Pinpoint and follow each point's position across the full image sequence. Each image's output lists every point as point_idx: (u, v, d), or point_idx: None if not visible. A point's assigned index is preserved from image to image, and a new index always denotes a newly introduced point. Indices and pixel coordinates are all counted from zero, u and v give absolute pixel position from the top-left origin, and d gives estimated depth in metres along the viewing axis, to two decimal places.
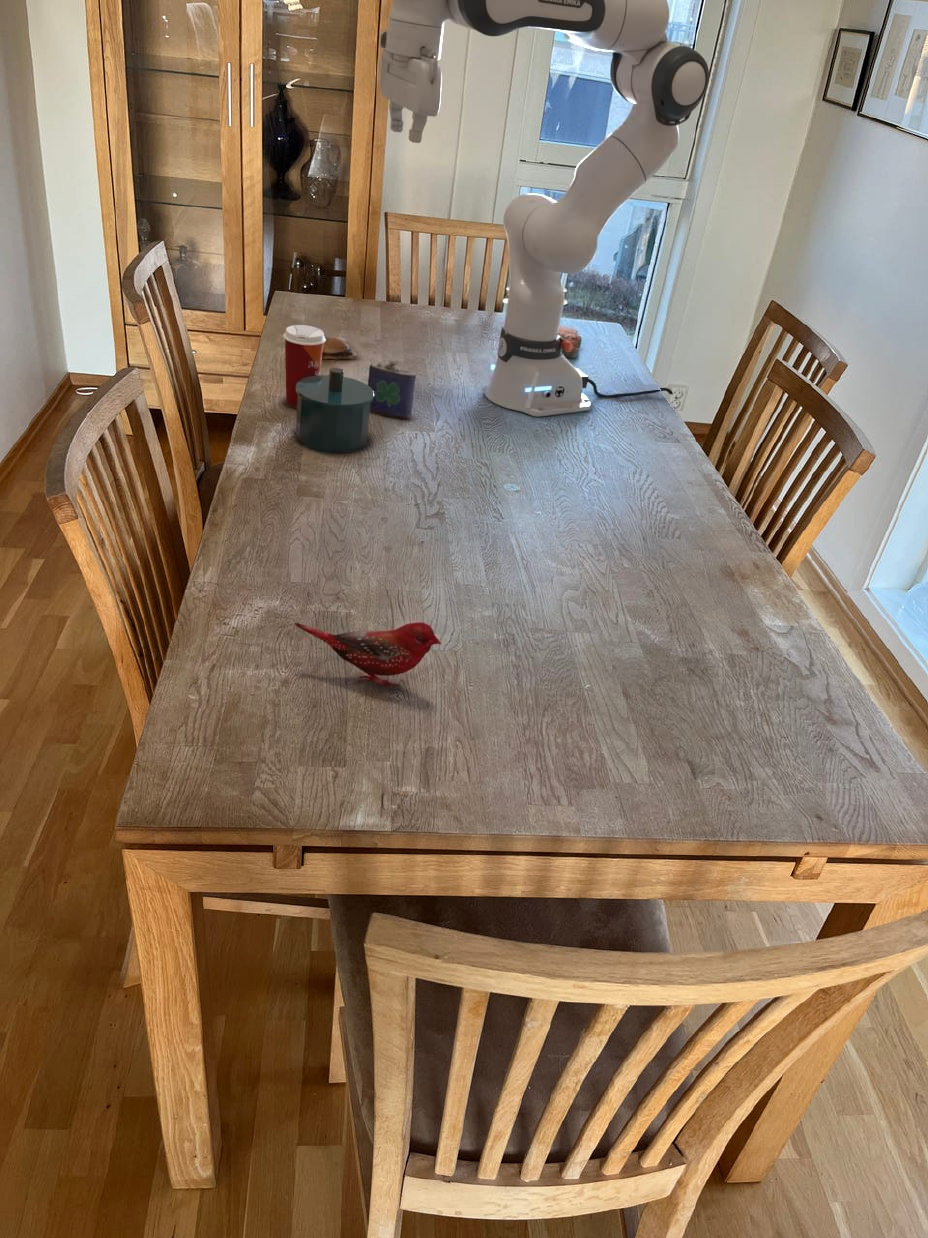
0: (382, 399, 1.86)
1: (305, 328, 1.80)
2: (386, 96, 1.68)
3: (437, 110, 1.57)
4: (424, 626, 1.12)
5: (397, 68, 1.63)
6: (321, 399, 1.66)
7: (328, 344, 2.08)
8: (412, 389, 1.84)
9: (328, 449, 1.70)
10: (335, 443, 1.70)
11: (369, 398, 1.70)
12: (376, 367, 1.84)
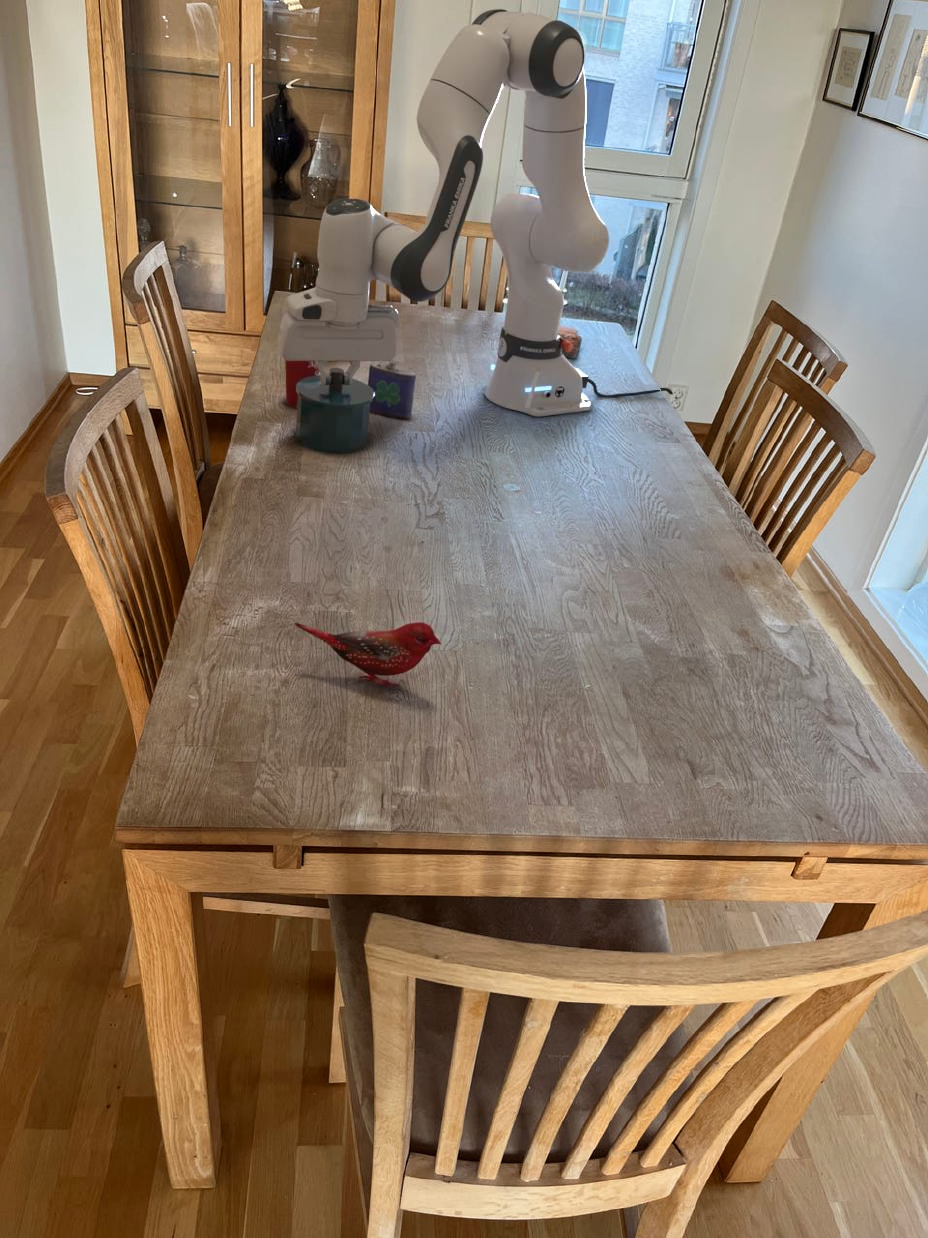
0: (382, 399, 1.86)
1: None
2: (303, 359, 1.64)
3: None
4: (424, 626, 1.12)
5: (325, 331, 1.63)
6: (321, 399, 1.66)
7: None
8: (412, 389, 1.84)
9: (328, 449, 1.70)
10: (335, 443, 1.70)
11: (369, 398, 1.70)
12: (376, 367, 1.84)
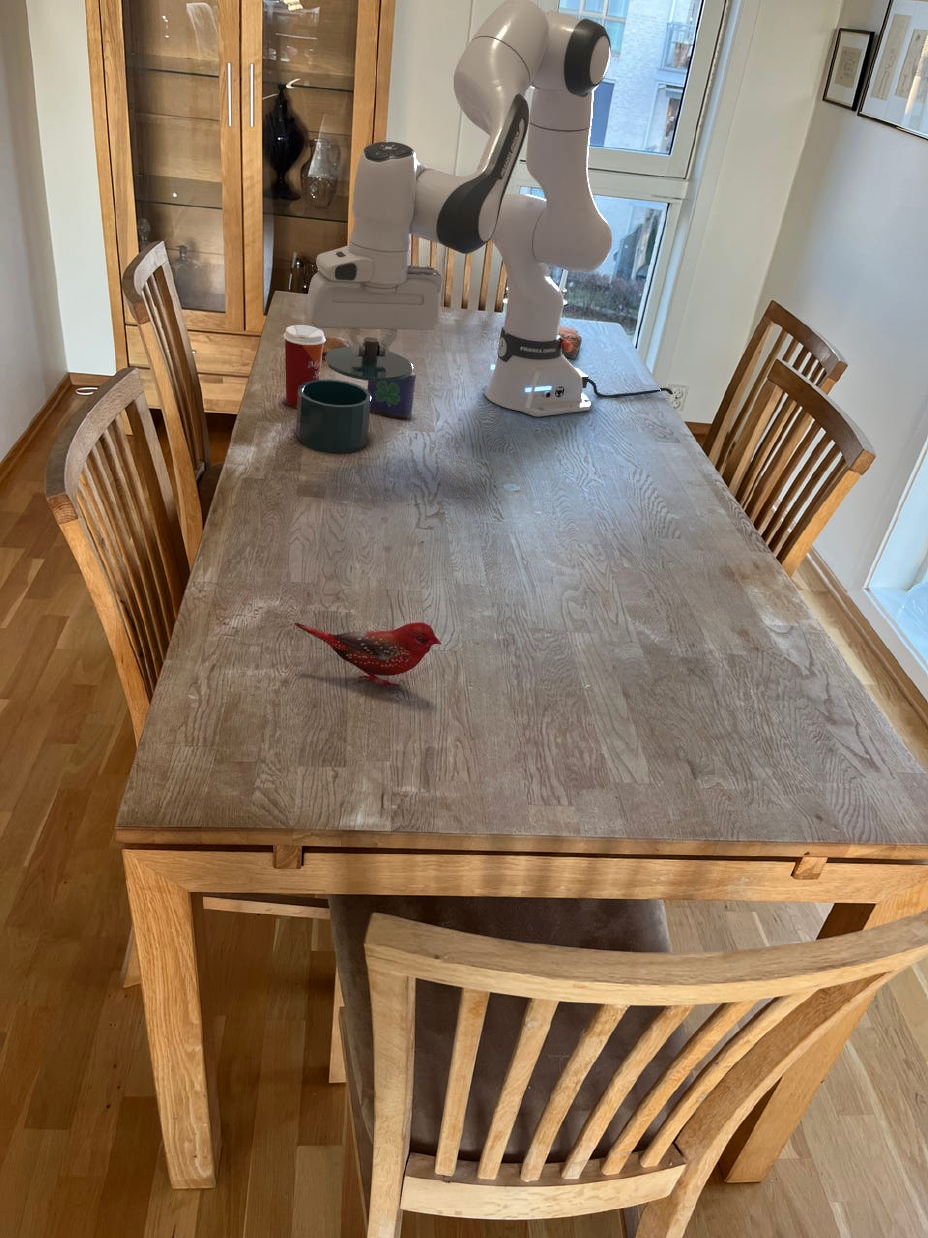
0: (382, 399, 1.86)
1: (305, 328, 1.80)
2: (335, 326, 1.46)
3: None
4: (424, 626, 1.12)
5: (360, 295, 1.45)
6: (354, 371, 1.48)
7: (328, 344, 2.08)
8: (412, 389, 1.84)
9: (328, 449, 1.70)
10: (335, 443, 1.70)
11: (407, 371, 1.51)
12: None
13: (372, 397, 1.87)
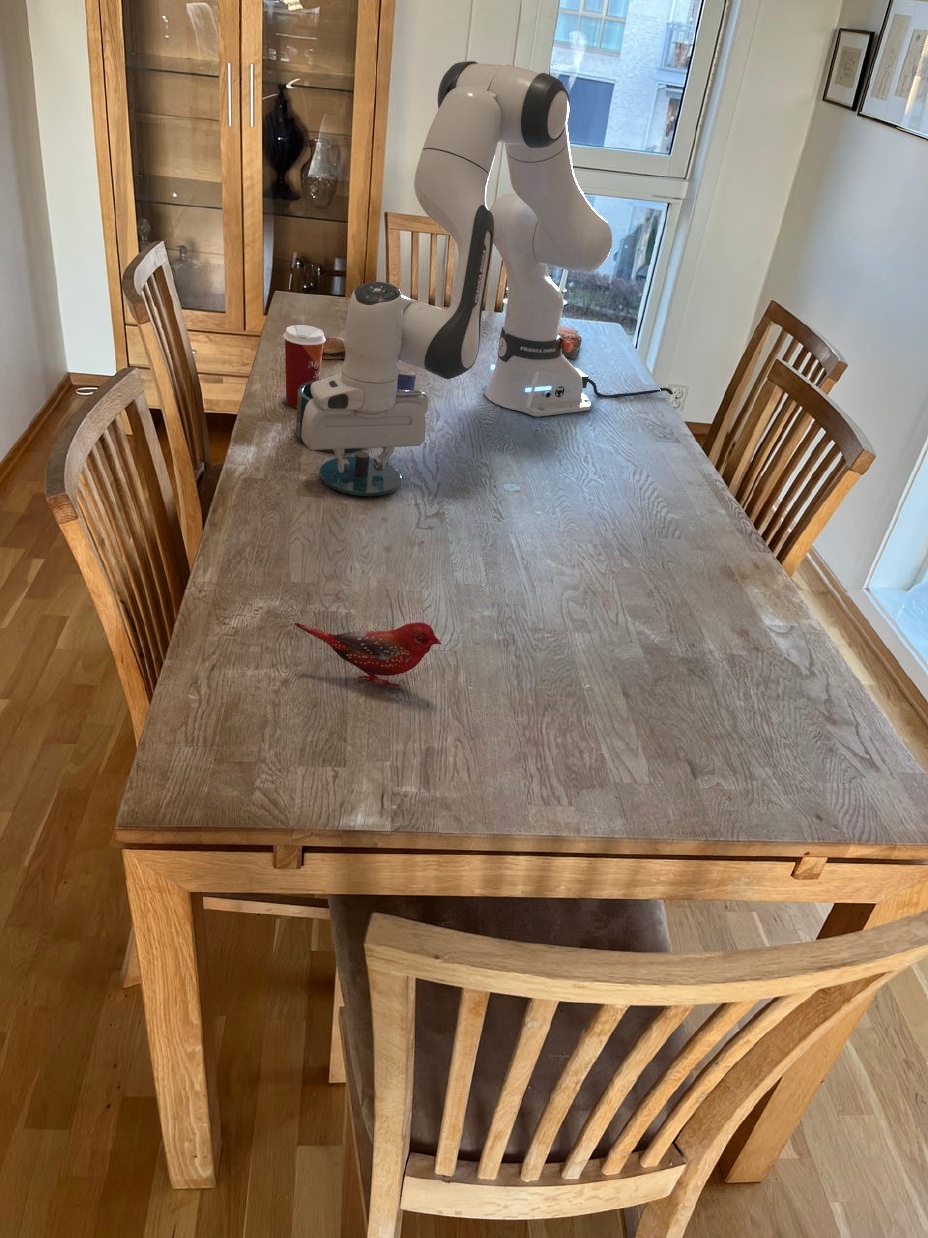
0: None
1: (305, 328, 1.80)
2: (328, 448, 1.56)
3: None
4: (424, 626, 1.12)
5: (351, 419, 1.55)
6: (347, 487, 1.58)
7: (328, 344, 2.08)
8: (412, 389, 1.84)
9: (328, 449, 1.70)
10: None
11: (396, 484, 1.61)
12: None
13: None
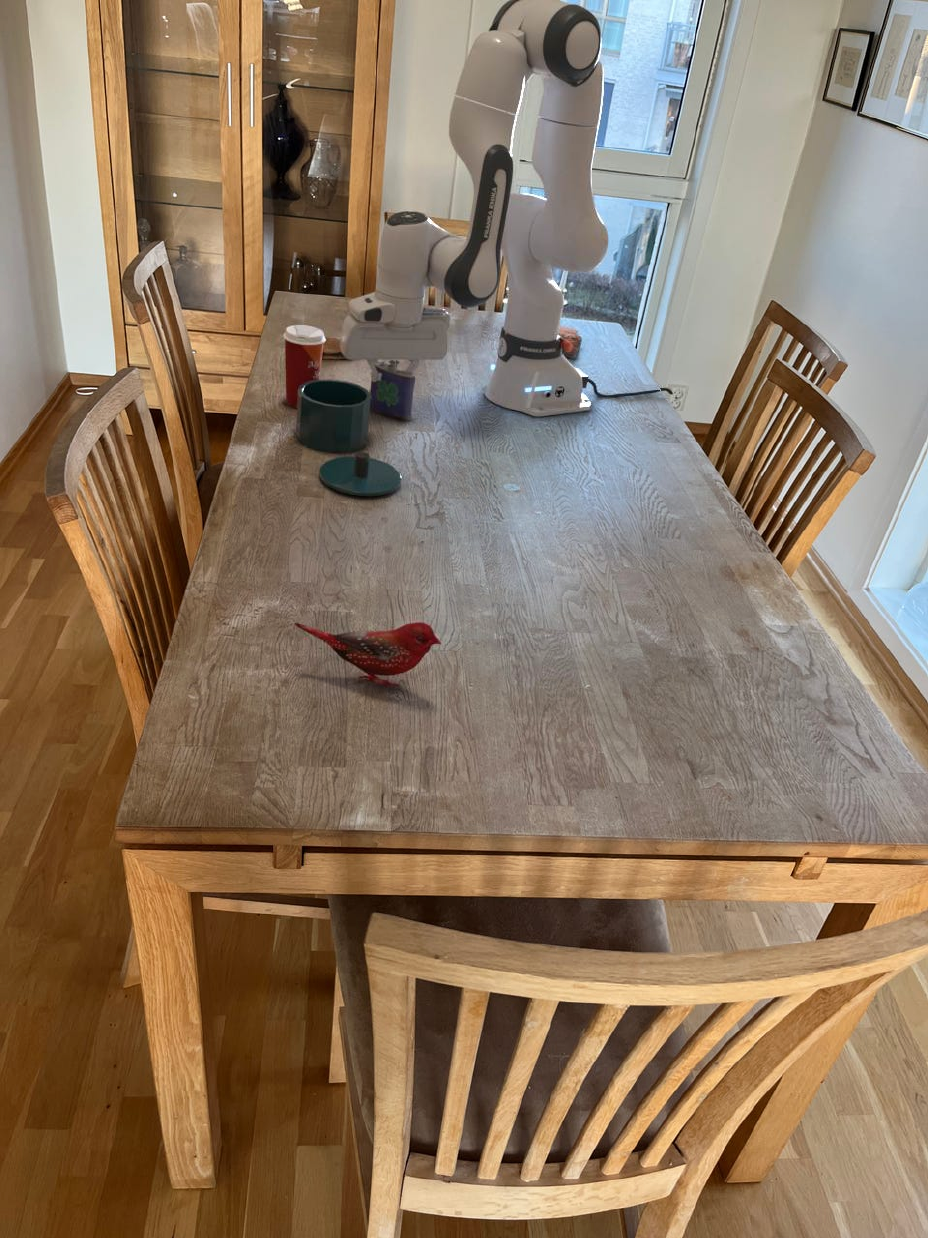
0: (382, 399, 1.86)
1: (305, 328, 1.80)
2: (363, 358, 1.78)
3: None
4: (424, 626, 1.12)
5: (384, 332, 1.77)
6: (347, 487, 1.58)
7: (328, 344, 2.08)
8: (410, 391, 1.84)
9: (328, 449, 1.70)
10: (335, 443, 1.70)
11: (396, 484, 1.61)
12: (377, 366, 1.84)
13: (374, 396, 1.87)
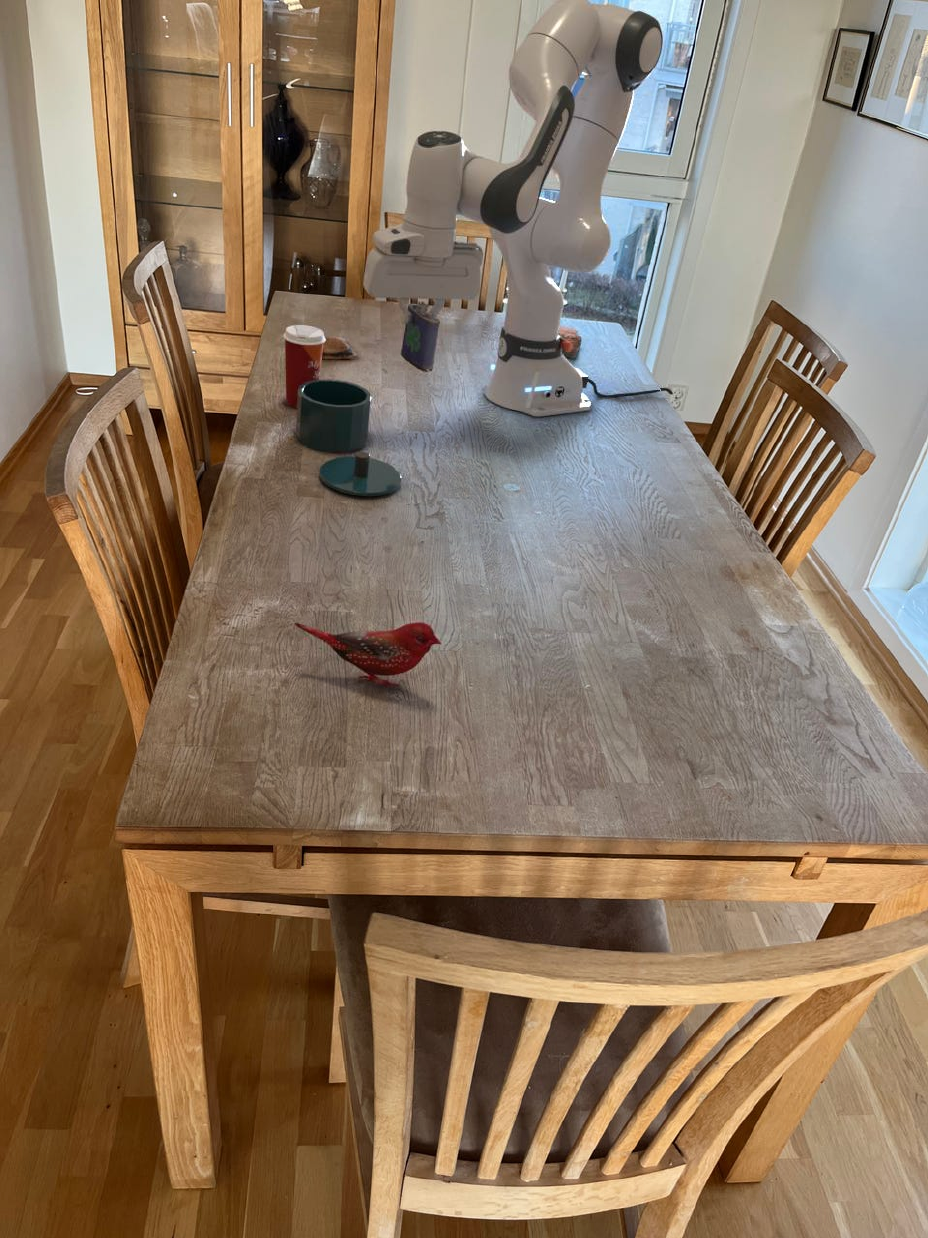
0: (408, 343, 1.71)
1: (305, 328, 1.80)
2: (389, 296, 1.63)
3: None
4: (424, 626, 1.12)
5: (412, 267, 1.62)
6: (347, 487, 1.58)
7: (328, 344, 2.08)
8: (431, 338, 1.66)
9: (328, 449, 1.70)
10: (335, 443, 1.70)
11: (396, 484, 1.61)
12: (410, 307, 1.69)
13: (404, 339, 1.73)
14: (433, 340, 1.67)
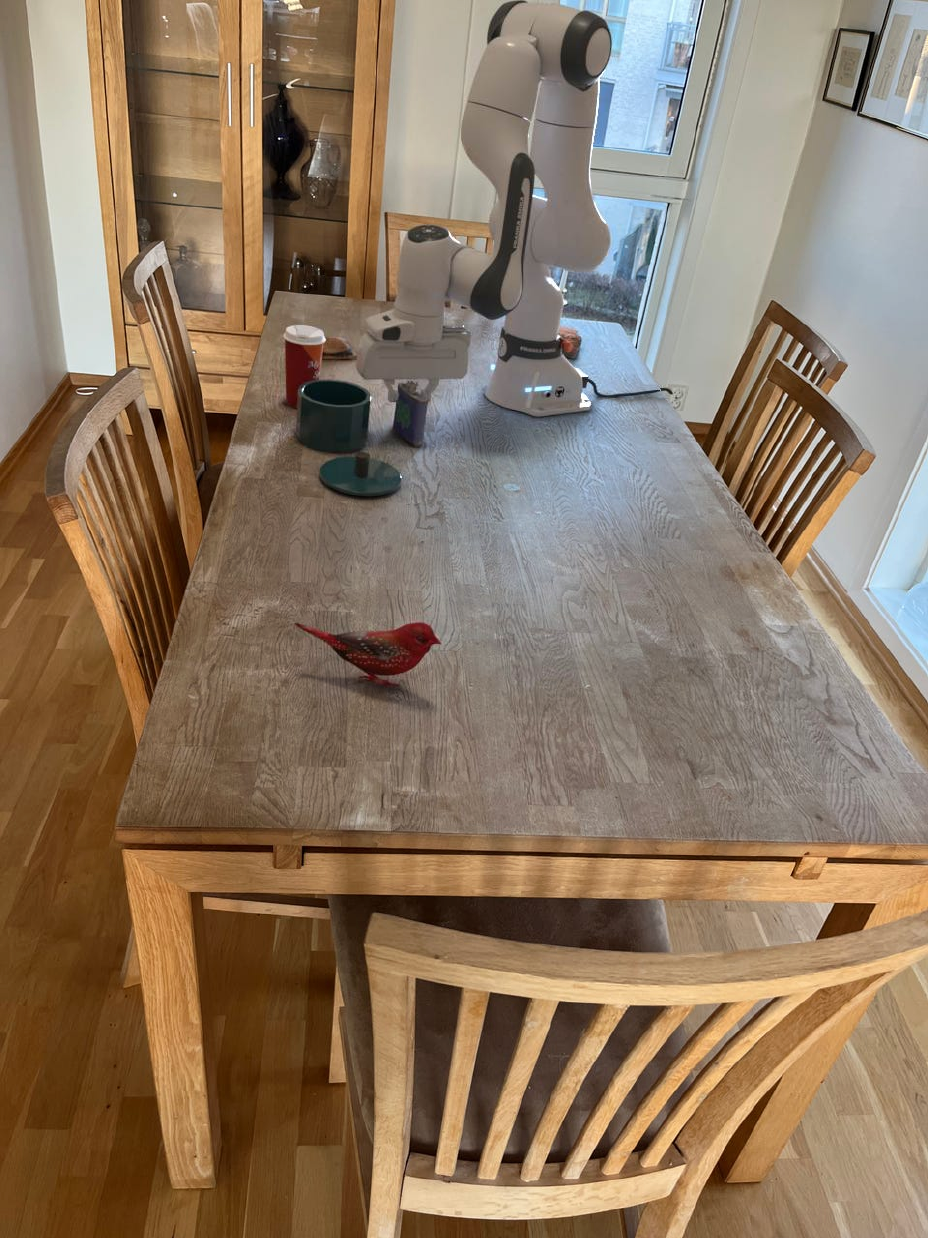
0: (399, 420, 1.79)
1: (305, 328, 1.80)
2: (381, 378, 1.71)
3: None
4: (424, 626, 1.12)
5: (402, 351, 1.70)
6: (347, 487, 1.58)
7: (328, 344, 2.08)
8: (420, 416, 1.74)
9: (328, 449, 1.70)
10: (335, 443, 1.70)
11: (396, 484, 1.61)
12: (400, 386, 1.77)
13: (395, 416, 1.81)
14: (422, 417, 1.75)
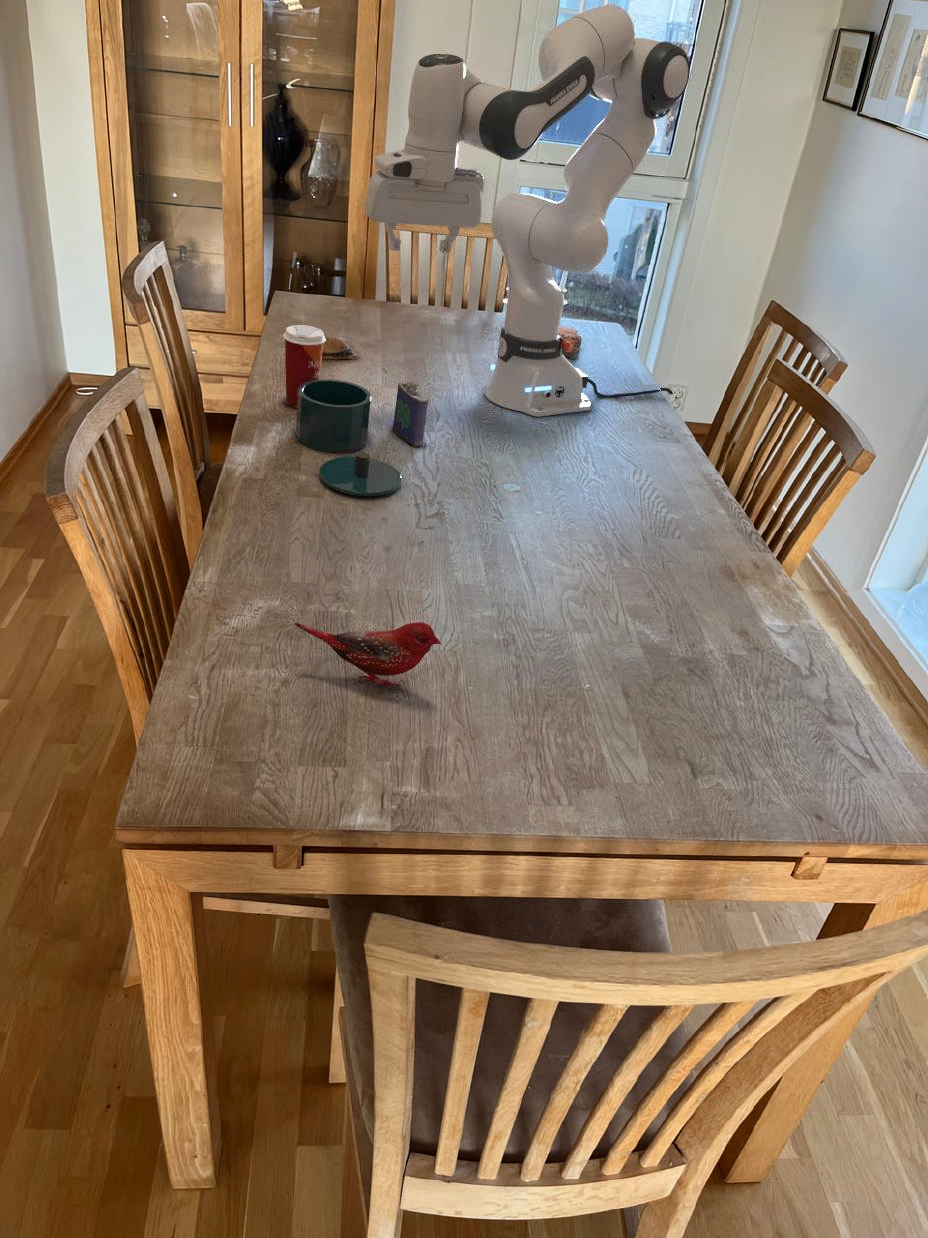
0: (399, 420, 1.79)
1: (305, 328, 1.80)
2: (391, 221, 1.64)
3: None
4: (424, 626, 1.12)
5: (413, 192, 1.63)
6: (347, 487, 1.58)
7: (328, 344, 2.08)
8: (420, 416, 1.74)
9: (328, 449, 1.70)
10: (335, 443, 1.70)
11: (396, 484, 1.61)
12: (400, 386, 1.77)
13: (395, 416, 1.81)
14: (422, 417, 1.75)
